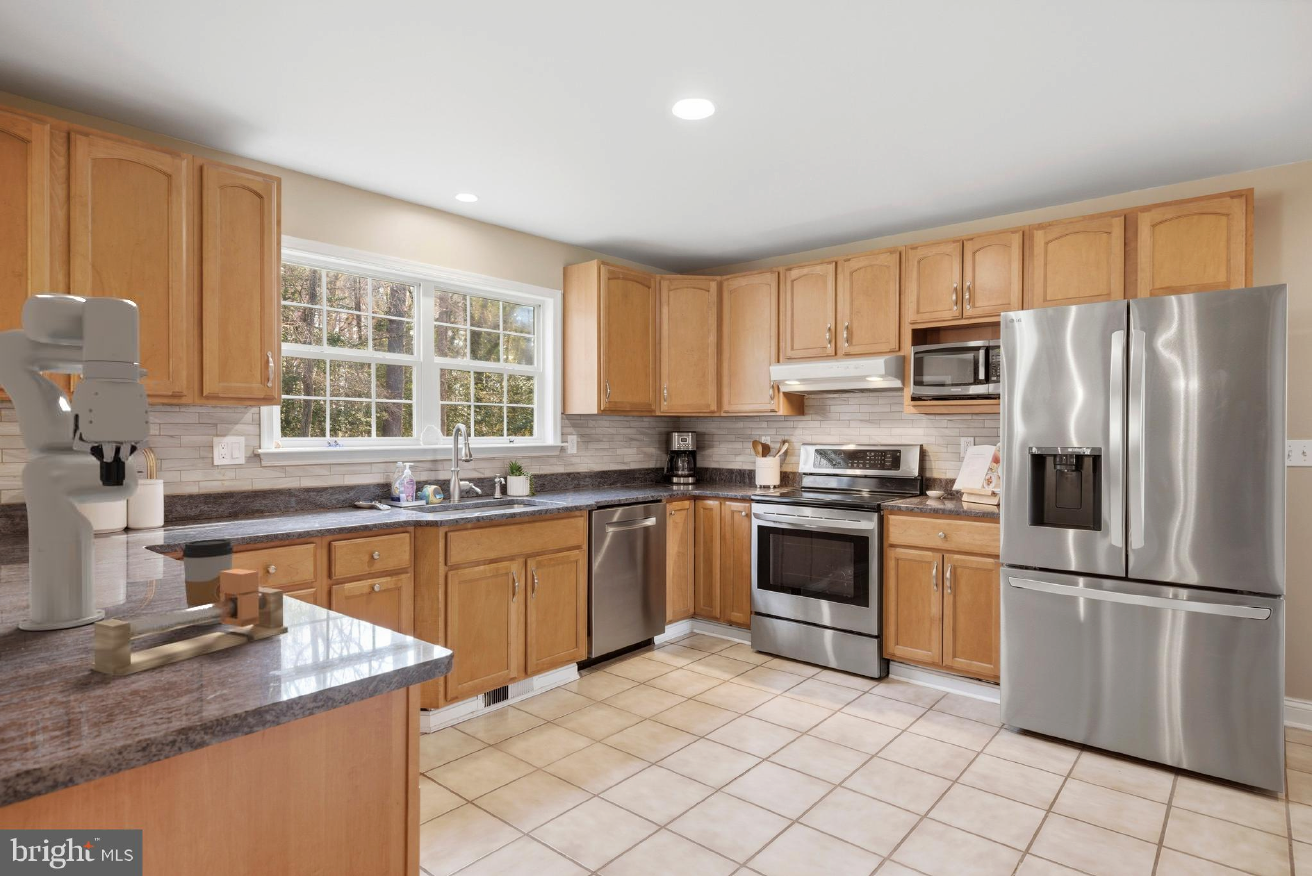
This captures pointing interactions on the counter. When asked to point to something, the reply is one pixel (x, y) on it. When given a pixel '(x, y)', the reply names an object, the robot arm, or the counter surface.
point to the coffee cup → (205, 571)
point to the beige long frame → (117, 642)
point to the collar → (241, 595)
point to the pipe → (187, 617)
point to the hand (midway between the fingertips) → (112, 485)
